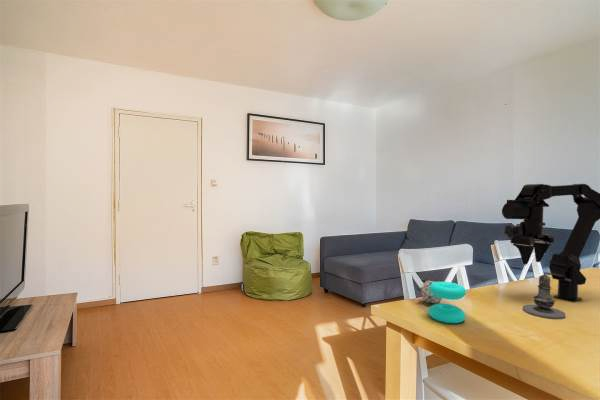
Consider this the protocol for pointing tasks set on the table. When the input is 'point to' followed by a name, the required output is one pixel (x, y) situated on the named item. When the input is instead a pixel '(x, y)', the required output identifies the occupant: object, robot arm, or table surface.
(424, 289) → the game die
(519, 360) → the table surface
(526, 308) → the charcoal mat
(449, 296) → the donuts
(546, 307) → the dark grey tall piece
